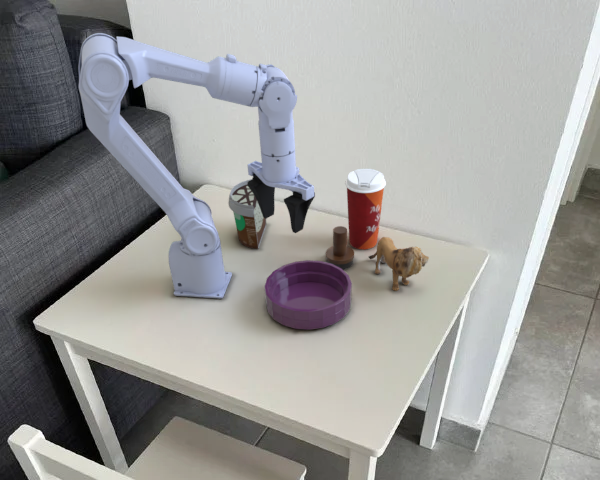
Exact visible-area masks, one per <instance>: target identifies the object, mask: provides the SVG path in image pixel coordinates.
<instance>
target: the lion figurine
mask: <svg viewBox="0 0 600 480" xmlns="http://www.w3.org/2000/svg"><path fill="white" fill-rule="evenodd" d="M375 258H376V261H375V269H374V274H375V275H380V274H381V273H382V270H381V267H380V266H381V263H382V264H386V266H388V268H390V269H391V272H392V288H391V289H392V290H393V291H394V292H397V291H399V290H400V287H399V277H401V280H400V281H401V284H402V285H404V286H408V285H410V281H409V280H407V278H408V279H409V278H410V277H412V276H414V275H417V274H419V273H420V272H421V271H422V269H423V268H425V266H426V265H427V264H428V262H429V259H430V257H429V256H427V255H425V254H424V253H423V252H422V249H421V247H419V246H409V247H406V248H397V247H396V246H395V243H394V240H393V239H392V238H390V237H387V236H383V237H381V238H380V239H379V240H378V241H377V244H376V251H375V252H374V254H372V255H371V254H370V255H369V256H368V259H369V260H373V259H375Z"/></svg>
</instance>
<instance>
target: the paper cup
mask: <svg viewBox="0 0 600 480" xmlns="http://www.w3.org/2000/svg"><path fill="white" fill-rule="evenodd" d="M344 185H345V187H346V196H347V198H346V199H347V221H348V223H347V225H348V239H349V240H348V241H349V244H350V247H351V248H352V247H353V248H355V249H357V250H370V249H372V248H374V247H375V246H377V245H378V237H379V231H380V223H381V214H382V208H383V207H382V206H383V200H384V199H383V198H384V192H385V191H384V190H385V187H386V186H387V182H386V179H385V175H384V173H382V172H381V171H379V170H377V169H373V168H358V169H355V170H352V171H350V172H349V173H348V174H347V178H346V180H345V182H344Z"/></svg>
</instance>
